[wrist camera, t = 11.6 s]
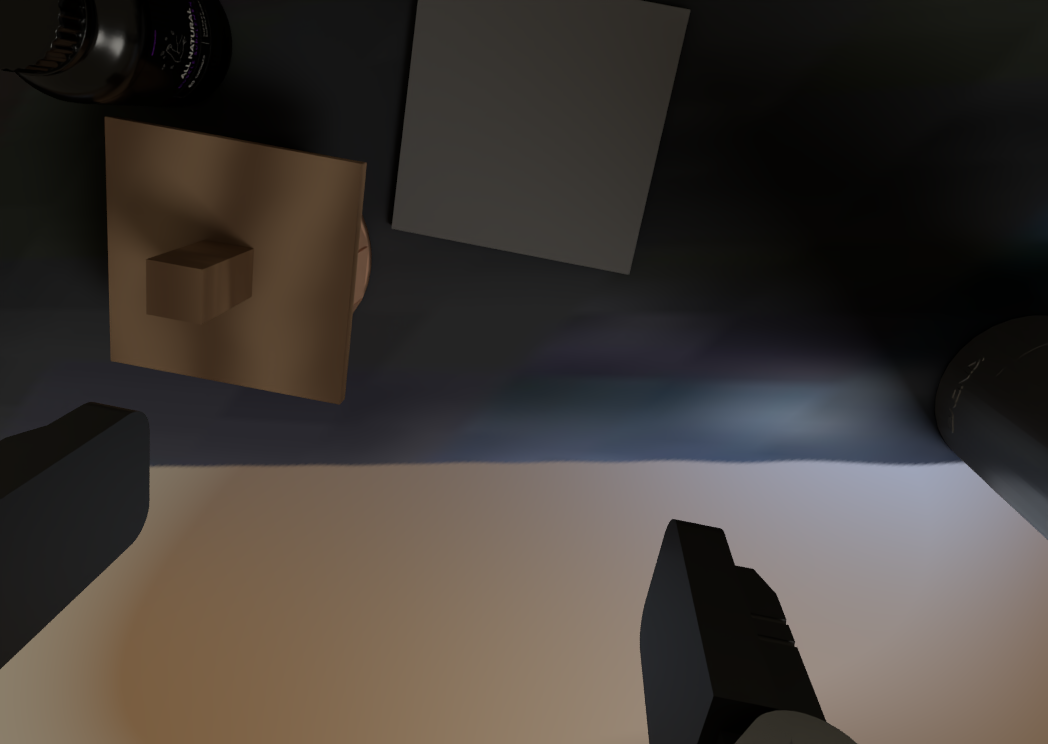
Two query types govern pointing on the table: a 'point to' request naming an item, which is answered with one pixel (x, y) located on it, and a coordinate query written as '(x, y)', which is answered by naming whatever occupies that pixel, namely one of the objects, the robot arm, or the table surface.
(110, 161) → the lid
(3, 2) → the supplement bottle
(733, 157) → the table surface
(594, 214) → the mat
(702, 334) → the table surface
